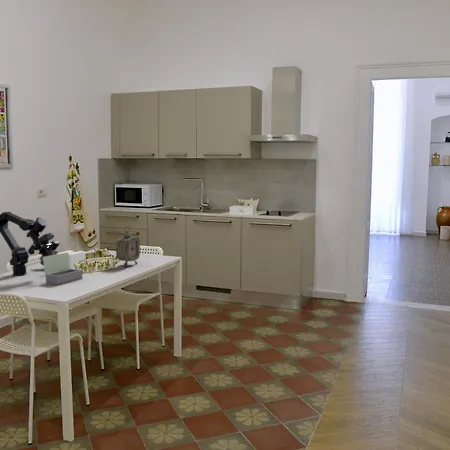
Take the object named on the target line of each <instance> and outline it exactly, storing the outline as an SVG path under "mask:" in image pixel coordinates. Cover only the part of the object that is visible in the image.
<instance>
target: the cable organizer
mask: <svg viewBox="0 0 450 450" xmlns="http://www.w3.org/2000/svg"><path fill="white" fill-rule="evenodd" d="M66 252H68V254H69V263H70V268H69V269H75V268H74V266H73V265H74V263H76V262H78V261H81V260H84V259H85V260H86V253H85V251H83V250H79V251H75V252H74V250H66V251H62V252H59V253H57V254H61V253H66ZM65 270H67V269H65ZM61 271H63V270H61Z"/></svg>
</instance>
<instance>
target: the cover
mask: <svg viewBox="0 0 450 450" xmlns="http://www.w3.org/2000/svg"><path fill="white" fill-rule="evenodd" d="M65 252H66V251H65ZM60 253H61V252H60ZM43 263H44V266H43V269H44V270H43V271H44V275H46V274H51V273H55V272H59V271H61V270H65V269H69V268H70V263H69V254H68V252H66V253H61V254H56V255H51V256H46V257H43Z"/></svg>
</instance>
